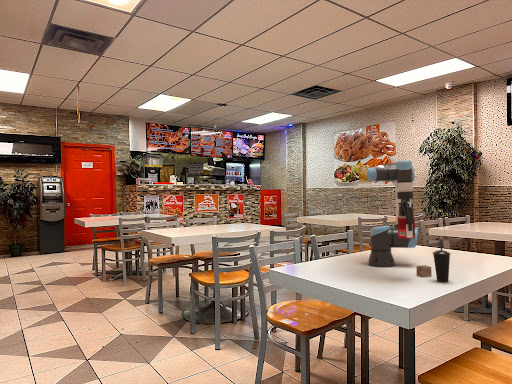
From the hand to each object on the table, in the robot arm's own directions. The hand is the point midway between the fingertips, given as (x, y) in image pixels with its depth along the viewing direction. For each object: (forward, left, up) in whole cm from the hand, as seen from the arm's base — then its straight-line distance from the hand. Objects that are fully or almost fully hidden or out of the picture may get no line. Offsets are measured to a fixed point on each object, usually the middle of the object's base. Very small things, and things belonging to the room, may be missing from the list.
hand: (406, 236), depth 178 cm
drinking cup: (+6, +14, -21) cm, 26 cm away
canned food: (0, 0, -1) cm, 1 cm away
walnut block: (-6, +10, -21) cm, 24 cm away
